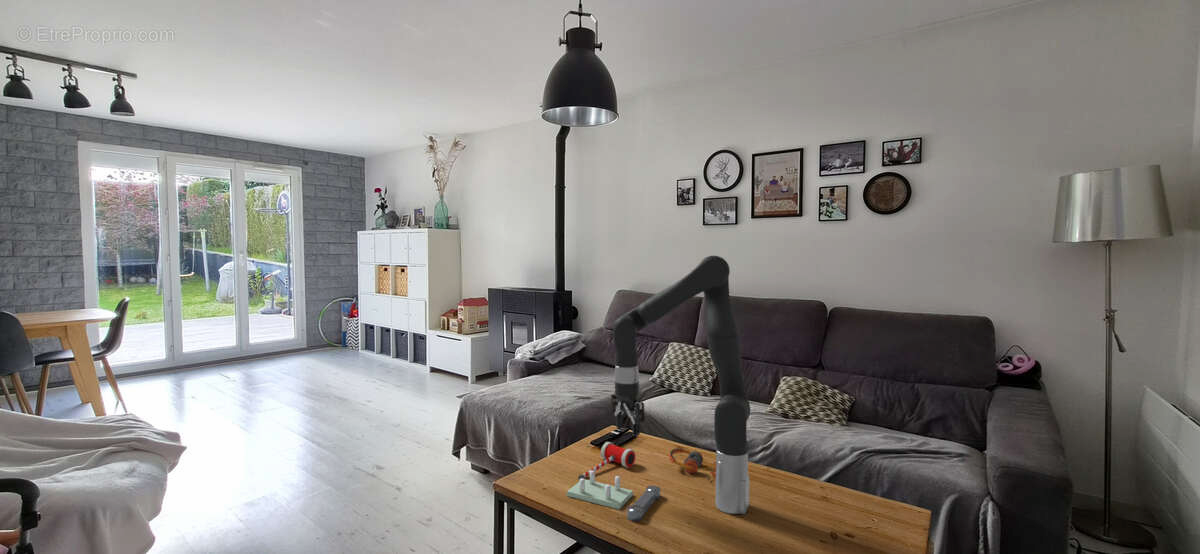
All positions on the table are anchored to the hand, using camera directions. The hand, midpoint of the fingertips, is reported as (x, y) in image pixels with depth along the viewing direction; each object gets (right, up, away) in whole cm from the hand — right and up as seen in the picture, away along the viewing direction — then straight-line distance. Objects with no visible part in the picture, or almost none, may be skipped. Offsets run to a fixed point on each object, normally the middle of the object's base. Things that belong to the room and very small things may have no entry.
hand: (627, 431), depth 160 cm
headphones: (+25, -20, +20) cm, 38 cm away
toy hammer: (-6, -20, +21) cm, 30 cm away
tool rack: (-9, -20, +1) cm, 22 cm away
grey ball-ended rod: (+5, -21, -6) cm, 22 cm away
